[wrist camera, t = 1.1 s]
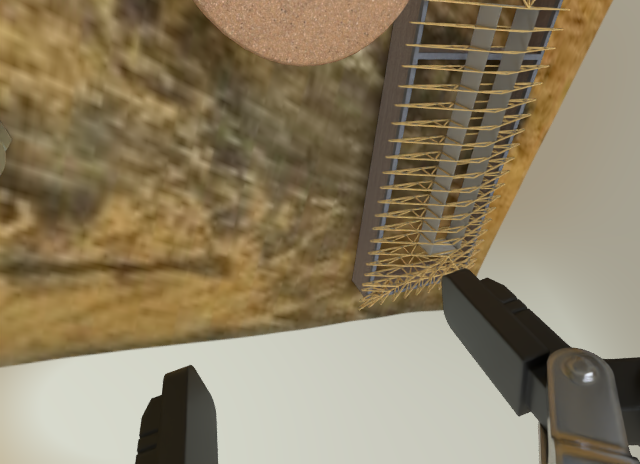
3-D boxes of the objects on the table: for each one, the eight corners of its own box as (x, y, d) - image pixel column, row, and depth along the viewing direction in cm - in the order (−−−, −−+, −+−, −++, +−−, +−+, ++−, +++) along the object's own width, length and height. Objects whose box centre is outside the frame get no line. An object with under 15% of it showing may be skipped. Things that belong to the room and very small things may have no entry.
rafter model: (407, -144, 24) (476, -167, 20) (571, -107, 29) (655, -118, 25) (343, 288, 43) (370, 328, 39) (449, 264, 49) (484, 297, 44)
